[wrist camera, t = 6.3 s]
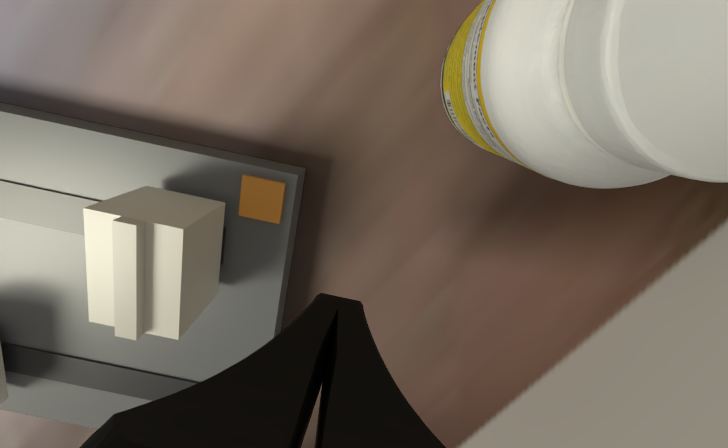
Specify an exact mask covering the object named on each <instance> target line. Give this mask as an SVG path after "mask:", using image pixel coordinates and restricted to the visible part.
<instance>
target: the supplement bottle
mask: <svg viewBox="0 0 728 448" xmlns="http://www.w3.org/2000/svg"><path fill="white" fill-rule="evenodd" d="M441 95H442V100H443V104H444V107H445V110H446V113H447V115H448V117H449V119H450V121H451V122H452V124H453V125H454V126H455V128H456V129H457V130H458V131H459V132H460V133H461V134H462V135H463V136H464V137H465V138H466V139H468V140H469V141H470V142H472V143H473V144H475V145H477V146H479V147H481V148H483V149H485V150H487V151H489V152H492V153H494V154H496V155H498V156H501V157H503V158H505V159H508V160H510V161H512V162H514V163H516V164H519V165H521V166H523V167H526V168H528V169H530V170H532V171H534V172H537V173H539V174H541V175H543V176H546V177H548V178H551V179H555V180H558V181H561V182H564V183H567V184H571V185H576V186H580V187H587V188H600V189H609V188H624V187H631V186H637V185H642V184H646V183H650V182H653V181H656V180H659V179H662V178H664V177H667V176H669V175H674V176H679V177H684V178H688V179H694V180H700V181H706V182H728V0H483V1H482V2H481V3H480V5H479V6H478V7H477V8H476V9H475V10H474V11H473V12H472V13H471V14H470V15H469V16H468V18H467V19H466V20H465V21H464V23H463V24H462V25H461V26H460V28H459V29H458V31H457V32H456V34H455V36H454V37H453V39H452V41H451V43H450V45H449V47H448V49H447V52H446V55H445V58H444V62H443V65H442V72H441Z"/></svg>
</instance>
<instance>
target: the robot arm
mask: <svg viewBox="0 0 728 448" xmlns="http://www.w3.org/2000/svg"><path fill="white" fill-rule="evenodd" d="M321 385H322V390H321V398H320V407H319V415H318V424H317V432H316V441H315V448H446V447H445V446H444V445H443V444H442V443H441V442H440V441H439V440H438V439H437V438H436V436H435V435H434V434H433V433H432V432H431V431H430V430H429V428H428V427H427V426H426V425H425V424H424V422H423V421H422V420H421V419H420V417H419V416H418V415H417V413H416V412H415V411H414V410H413V408H412V407H411V406H410V405H409V403H408V402H407V400H406V399H405V397H404V396H403V394H402V393H401V391H400V390H399V388H398V387H397V385H396V383H395V382H394V380H393V378H392V377H391V375H390V373H389V371H388V369H387V368H386V366H385V364H384V362H383V360H382V358H381V356H380V353H379V351H378V349H377V347H376V344H375V342H374V340H373V337H372V335H371V332H370V330H369V327H368V324H367V321H366V317H365V314H364V309H363V305H362V303H361V302H360V301H356V300H352V299H347V298H342V297H337V296H333V295H328V294H323V293H320V294H319V295H317V296H316V298H315V299H314V300H313V301H312V303H311V304H310V305H309V306H308V307H307V308H306V309H305V310H304V311H303V312H302V313H301V314H300V315H299V316H298V317H297V318H296V319H295V320H294V321H293V322H292V323H291V324H290V325H288V326H287V327H286V328H285V329H284V330H283V331H281V332H280V333H279V334H278V335H276V336H275V337H274V338H273V339H271V340H270V341H269V342H268V343H266V344H265V345H263V346H262V347H261V348H259V349H258V350H256V351H255V352H253V353H252V354H250V355H249V356H247V357H246V358H244V359H243V360H241V361H239V362H237V363H236V364H234V365H232V366H230V367H229V368H227V369H225V370H224V371H222V372H220V373H218V374H216V375H214V376H212V377H210V378H208V379H206V380H204V381H202V382H199V383H197V384H195V385H193V386H190V387H188V388H186V389H183V390H181V391H178V392H176V393H173V394H171V395H168V396H166V397H163V398H160V399H157V400H154V401H151V402H149V403H146V404H143V405H140V406H137V407H134V408H131V409H128V410H125V411H122V412H119V413H115V414H113V415H112V416H111V417H110V418H109V419H108V420H107V421H106V422H105V423H104V424H103V425H102V426H101V427H100V428H99V429H98V430H97V431H96V432H95V433H93V434H92V435H91V436H90V437H89V438H88V439H87V441H86V442H85V443H84V444H83V445H82V446H81V447H80V448H301V445H302V442H303V439H304V436H305V433H306V430H307V427H308V424H309V421H310V418H311V415H312V412H313V409H314V406H315V403H316V400H317V397H318V394H319V391H320V388H321Z"/></svg>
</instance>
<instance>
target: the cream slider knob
mask: <svg viewBox="0 0 728 448" xmlns="http://www.w3.org/2000/svg"><path fill="white" fill-rule="evenodd" d="M7 398H9V396H8V389H7V383H6V376H5V369H4V363H3V356H2V349H1V343H0V404H1V403H2V402H4V401H5V400H6V399H7Z"/></svg>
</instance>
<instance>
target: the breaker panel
mask: <svg viewBox="0 0 728 448" xmlns="http://www.w3.org/2000/svg"><path fill="white" fill-rule="evenodd" d="M305 172H306V168H303V167H298V166H293V165H289V164H284V163H280V162H275V161H270V160H266V159H261V158H256V157H252V156H247V155H243V154H238V153H233V152H229V151H224V150H219V149H215V148H210V147H205V146H201V145H196V144H192V143H187V142H182V141H178V140H173V139H168V138H164V137H159V136H154V135H150V134H145V133H141V132H136V131H131V130H127V129H122V128H117V127H113V126H108V125H103V124H99V123H94V122H90V121H85V120H80V119H76V118H71V117H66V116H62V115H57V114H53V113H48V112H43V111H39V110H34V109H29V108H25V107H20V106H15V105H11V104H6V103H2V102H0V343H1V349H2V356H3V363H4V369H5V376H6V383H7V389H8V396H9V398H7V399H6V400H5V401H4V402H2V403H1V404H0V409H1V410H6V411H11V412H16V413H21V414H26V415H31V416H36V417H41V418H46V419H51V420H56V421H61V422H66V423H71V424H75V425H80V426H85V427H90V428H95V429H99V428H100V427H101V426H102V425H103V424H104V423H105V422H106V421H107V420H108V419H109V418H110V417H111V416H112V415H113V414H115V413H119V412H122V411H125V410H128V409H131V408H134V407H137V406H140V405H143V404H146V403H149V402H151V401H154V400H157V399H160V398H163V397H166V396H168V395H171V394H173V393H176V392H178V391H181V390H183V389H186V388H188V387H190V386H193V385H195V384H197V383H199V382H202V381H204V380H206V379H208V378H210V377H212V376H214V375H216V374H218V373H220V372H222V371H224V370H225V369H227V368H229V367H230V366H232V365H234V364H236V363H237V362H239V361H241V360H243V359H244V358H246V357H247V356H249V355H250V354H252V353H253V352H255V351H256V350H258V349H259V348H261V347H262V346H263V345H265V344H266V343H268V342H269V341H270V340H271V339H273V338H274V337H275V336H276V335H278V334H279V333H280V332H281V326H282V320H283V313H284V307H285V301H286V294H287V288H288V281H289V275H290V268H291V262H292V255H293V249H294V243H295V236H296V230H297V223H298V217H299V210H300V204H301V197H302V191H303V185H304V178H305ZM144 186H150V187H155V188H160V189H165V190H169V191H174V192H179V193H183V194H188V195H193V196H197V197H202V198H207V199H211V200H216V201H221V202H225V213H224V225H223V237H222V249H221V261H220V273H219V285H218V295H217V296H216V297H215V298H214V299H213V300H212V302H211V303H210V304H209V305H208V306H207V307H206V309H205V310H204V311H203V312H202V313H201V314H200V316H199V317H198V318H197V319H196V320H195V321H194V323H193V324H192V325H191V326H190V327H189V328H188V329H187V331H186V332H185V333H184V334H183V335H182V336H181V338H180V339H179V340H176V339H171V338H166V337H162V336H157V335H152V334H147V333H144V334H143V335H142V336H140V337H139V338H138V339H137V340H132V339H127V338H122V337H117V336H115V327H113V326H108V325H104V324H99V323H94V322H89V313H88V293H87V274H86V254H85V235H84V216H83V208H84V207H87V206H90V205H93V204H96V203H99V202H101V201H104V200H107V199H110V198H113V197H116V196H118V195H121V194H124V193H127V192H130V191H132V190H135V189H138V188H141V187H144Z"/></svg>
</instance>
